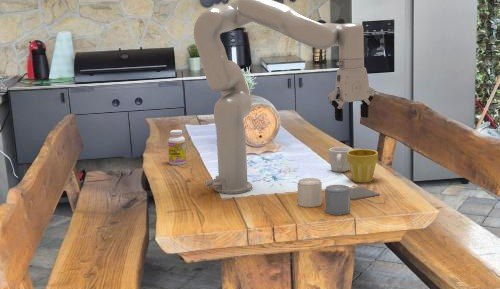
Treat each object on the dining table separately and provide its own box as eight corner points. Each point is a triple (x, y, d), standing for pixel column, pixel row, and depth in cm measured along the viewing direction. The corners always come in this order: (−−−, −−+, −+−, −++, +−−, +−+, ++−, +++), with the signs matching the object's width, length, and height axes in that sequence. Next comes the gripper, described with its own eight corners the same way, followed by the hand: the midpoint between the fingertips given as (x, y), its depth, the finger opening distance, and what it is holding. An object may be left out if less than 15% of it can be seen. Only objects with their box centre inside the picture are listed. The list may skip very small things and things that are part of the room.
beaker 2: (334, 216, 209) (333, 192, 208) (321, 210, 215) (321, 186, 214) (353, 212, 212) (353, 188, 211) (341, 206, 218) (340, 183, 217)
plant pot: (359, 185, 240) (358, 157, 238) (341, 179, 249) (340, 151, 247) (384, 181, 245) (384, 153, 243) (365, 174, 254) (365, 147, 252)
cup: (350, 175, 253) (350, 153, 252) (327, 175, 255) (327, 153, 253) (352, 168, 264) (352, 146, 262) (330, 167, 265) (330, 146, 264)
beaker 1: (305, 208, 218) (305, 185, 216) (294, 202, 224) (294, 180, 222) (325, 204, 221) (325, 181, 219) (313, 199, 227) (313, 177, 225)
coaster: (352, 200, 224) (352, 198, 224) (335, 192, 233) (335, 191, 233) (379, 195, 228) (379, 193, 228) (361, 188, 237) (361, 186, 237)
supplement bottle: (166, 164, 278) (164, 132, 276) (174, 160, 284) (172, 128, 281) (181, 165, 276) (179, 132, 273) (189, 161, 282) (187, 129, 279)
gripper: (335, 67, 215) (335, 124, 219) (381, 62, 223) (381, 117, 227) (321, 65, 222) (321, 120, 225) (366, 61, 229) (366, 114, 233)
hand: (351, 118), depth 226 cm, fingers open, 9 cm apart
